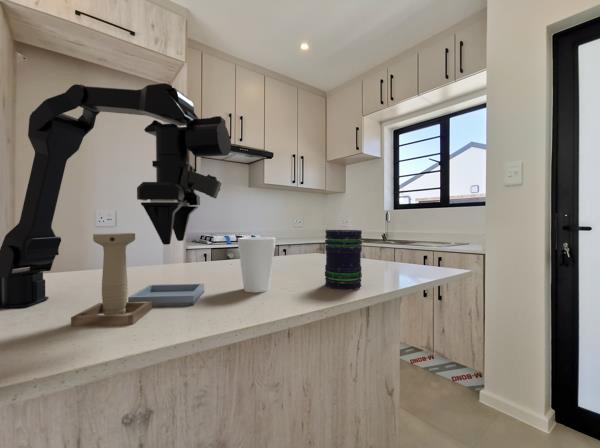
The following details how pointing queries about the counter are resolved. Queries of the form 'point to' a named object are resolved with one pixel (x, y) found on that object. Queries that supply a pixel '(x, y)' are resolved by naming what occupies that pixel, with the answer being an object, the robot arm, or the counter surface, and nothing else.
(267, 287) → the foam cup
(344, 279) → the storage jar
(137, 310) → the brown square frame
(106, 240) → the handle
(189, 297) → the tray
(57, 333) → the counter surface
